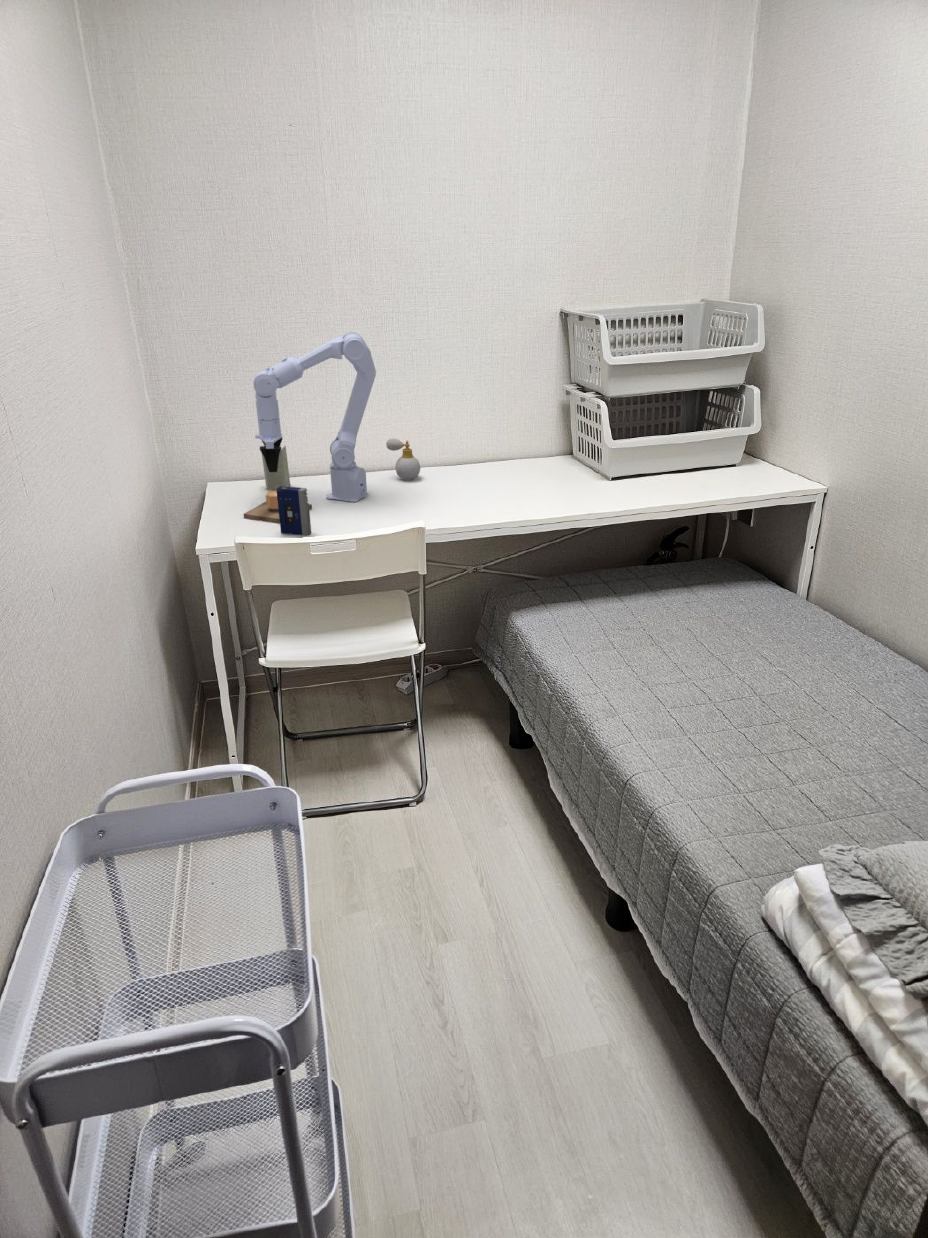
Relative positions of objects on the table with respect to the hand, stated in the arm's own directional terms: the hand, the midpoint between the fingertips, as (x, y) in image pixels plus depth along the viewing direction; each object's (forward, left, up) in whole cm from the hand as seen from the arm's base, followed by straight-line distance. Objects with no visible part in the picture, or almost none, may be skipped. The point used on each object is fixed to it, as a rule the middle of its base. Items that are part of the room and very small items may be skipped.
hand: (273, 467), depth 227 cm
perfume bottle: (-25, -31, -10) cm, 41 cm away
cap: (-6, +9, -7) cm, 13 cm away
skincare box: (+6, -10, -10) cm, 15 cm away
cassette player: (-18, +20, -10) cm, 29 cm away
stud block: (-6, +9, -9) cm, 14 cm away
